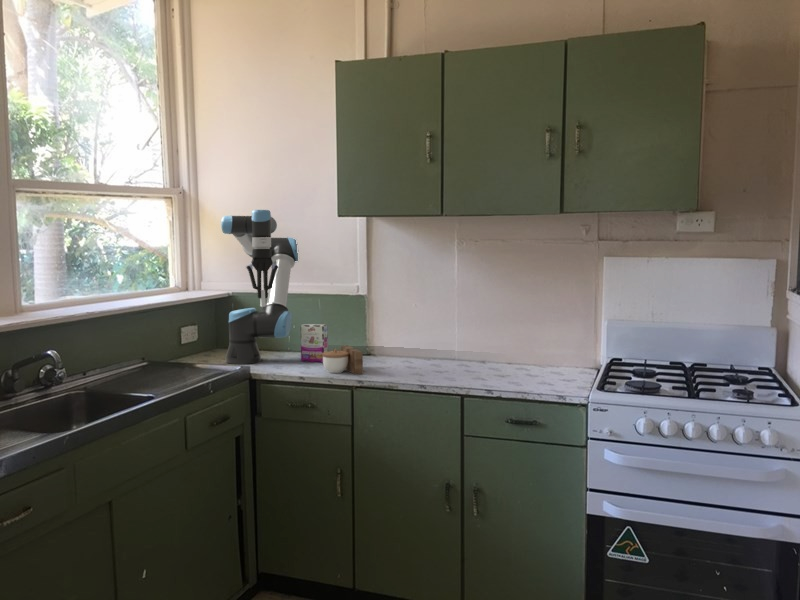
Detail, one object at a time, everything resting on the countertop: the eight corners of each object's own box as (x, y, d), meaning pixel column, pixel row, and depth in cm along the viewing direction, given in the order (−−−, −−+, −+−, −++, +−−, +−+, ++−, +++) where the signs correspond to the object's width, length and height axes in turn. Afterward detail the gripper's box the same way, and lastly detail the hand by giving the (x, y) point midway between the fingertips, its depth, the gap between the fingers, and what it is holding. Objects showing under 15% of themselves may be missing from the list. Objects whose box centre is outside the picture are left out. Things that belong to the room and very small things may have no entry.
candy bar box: (328, 360, 288) (328, 324, 287) (323, 362, 284) (323, 325, 282) (305, 359, 292) (305, 323, 290) (300, 361, 287) (300, 324, 285)
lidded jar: (327, 368, 270) (327, 346, 269) (352, 369, 268) (352, 347, 267) (318, 373, 260) (318, 350, 259) (344, 375, 257) (344, 351, 257)
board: (341, 366, 274) (340, 345, 273) (347, 366, 275) (347, 345, 275) (355, 374, 258) (355, 352, 257) (362, 374, 259) (362, 351, 258)
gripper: (247, 248, 256) (248, 307, 258) (279, 248, 262) (280, 306, 264) (243, 248, 263) (244, 306, 265) (275, 248, 268) (276, 304, 270)
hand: (262, 306), depth 264 cm, fingers closed
